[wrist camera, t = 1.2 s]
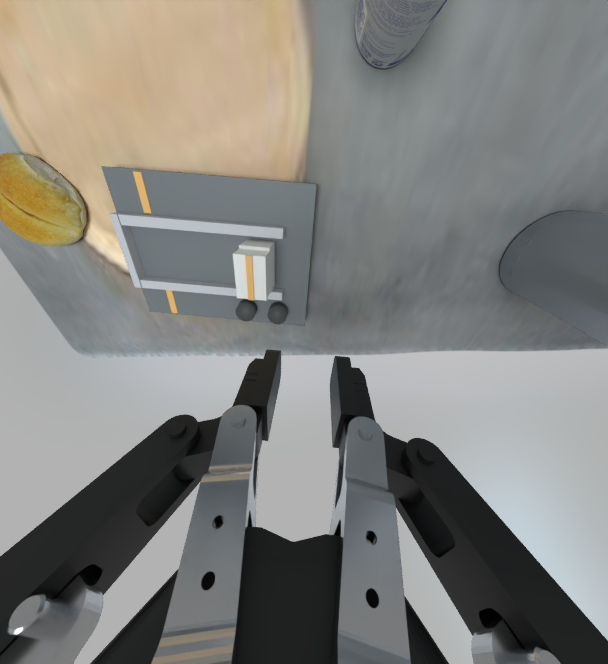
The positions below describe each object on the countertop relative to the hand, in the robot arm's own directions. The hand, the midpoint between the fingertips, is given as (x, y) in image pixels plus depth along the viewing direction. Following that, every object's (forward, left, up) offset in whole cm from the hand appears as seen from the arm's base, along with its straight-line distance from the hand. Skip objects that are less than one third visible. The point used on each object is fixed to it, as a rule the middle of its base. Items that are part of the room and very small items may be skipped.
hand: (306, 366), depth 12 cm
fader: (+6, 0, -17) cm, 18 cm away
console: (+11, 0, -19) cm, 22 cm away
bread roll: (+31, -4, -20) cm, 37 cm away
